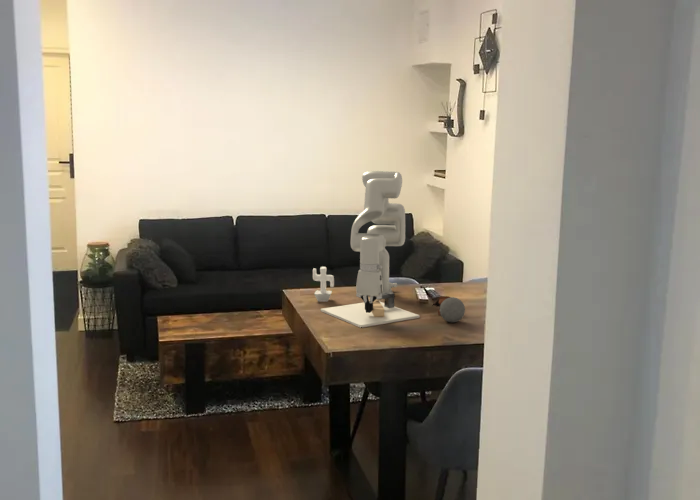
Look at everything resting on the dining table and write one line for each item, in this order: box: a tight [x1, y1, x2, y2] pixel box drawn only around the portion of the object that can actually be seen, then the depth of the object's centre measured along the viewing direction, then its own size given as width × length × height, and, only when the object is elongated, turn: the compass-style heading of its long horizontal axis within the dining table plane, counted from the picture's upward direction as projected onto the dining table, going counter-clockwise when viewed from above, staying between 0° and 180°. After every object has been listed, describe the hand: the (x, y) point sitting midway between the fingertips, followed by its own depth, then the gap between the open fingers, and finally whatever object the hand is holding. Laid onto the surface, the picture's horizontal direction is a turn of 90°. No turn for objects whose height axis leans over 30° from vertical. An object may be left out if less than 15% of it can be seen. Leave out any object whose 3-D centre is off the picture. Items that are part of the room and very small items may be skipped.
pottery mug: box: [431, 295, 451, 316], centre depth 316 cm, size 12×10×8 cm
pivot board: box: [320, 300, 420, 329], centre depth 313 cm, size 29×30×1 cm
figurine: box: [312, 266, 335, 303], centre depth 335 cm, size 7×9×15 cm
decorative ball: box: [439, 296, 466, 323], centre depth 301 cm, size 10×10×10 cm
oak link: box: [368, 296, 384, 317], centre depth 316 cm, size 25×6×5 cm, turn 7°
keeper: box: [377, 291, 395, 308], centre depth 320 cm, size 9×3×6 cm, turn 123°
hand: (368, 311), depth 306 cm, fingers closed
